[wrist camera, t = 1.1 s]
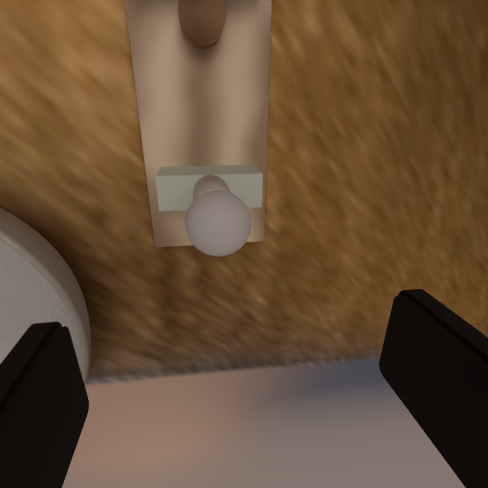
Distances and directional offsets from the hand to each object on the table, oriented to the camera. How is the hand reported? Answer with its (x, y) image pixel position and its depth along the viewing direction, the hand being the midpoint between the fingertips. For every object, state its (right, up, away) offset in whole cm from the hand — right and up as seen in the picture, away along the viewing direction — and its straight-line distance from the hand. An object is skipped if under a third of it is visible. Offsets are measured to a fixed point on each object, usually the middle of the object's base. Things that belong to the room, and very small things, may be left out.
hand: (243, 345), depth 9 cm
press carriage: (-4, +9, +22) cm, 24 cm away
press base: (-4, +16, +21) cm, 27 cm away
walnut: (-4, +22, +16) cm, 27 cm away
